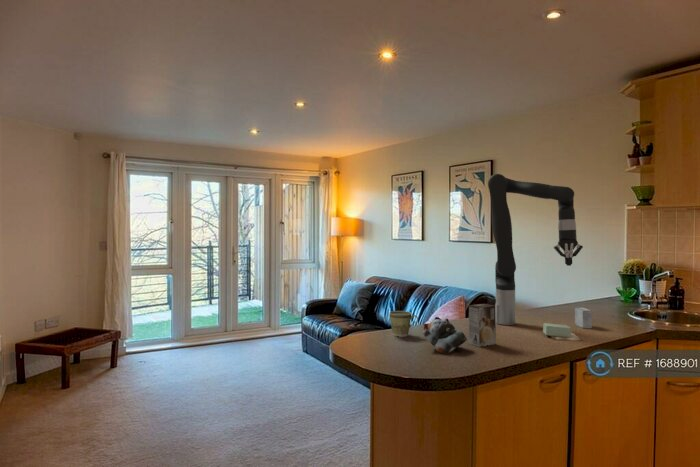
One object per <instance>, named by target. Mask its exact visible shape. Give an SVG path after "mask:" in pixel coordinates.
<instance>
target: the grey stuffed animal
mask: <svg viewBox="0 0 700 467" xmlns="http://www.w3.org/2000/svg"><path fill="white" fill-rule="evenodd" d="M422 336H424V338H425V340H427V341H428V342H429V343H430V344H431V345H432V346H433V347H434V348H435V350H436V352H437V353H439V354H444V353H447V354H446V355H448V354H449V353H451V352H453V351H455V350H456V349H457V348H458V347H460V346H461V345H463V344H464V343H466V341H467V340H468V339H467V336H466V335H465V333H464V332H463V331H461V330H460V329H456V327H455V326H454V325H453V323H452V322H450V320H449V319H448V317H446V318H444V319H441V318H440V317H439V316H435V317H434V319H433V320H432V321H430V322H429V323H424V324H423V331H422Z"/></svg>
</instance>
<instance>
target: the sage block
mask: <svg viewBox="0 0 700 467" xmlns="http://www.w3.org/2000/svg"><path fill="white" fill-rule="evenodd" d="M542 333H543V334H545V335H546V336H549V335H552V336H562V337H571V333H572V327H570V326H569V325H568V324H567V325H566V324H560V323H559V324H558V323H556V324H555V323H549V322H547V323H546V322H543V325H542Z"/></svg>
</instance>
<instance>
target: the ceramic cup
mask: <svg viewBox="0 0 700 467" xmlns="http://www.w3.org/2000/svg"><path fill="white" fill-rule="evenodd" d="M414 317H415V318H416V321H414V322H413V323H411V320H412V319H413V318H414ZM418 320H419V317H418V316H417V315H414V314H412V312H411V311H406V310H393V311H389V321H390V325H391V332H392V335H393V336H394V337H397V336H399V338H404V337H408V336H409V331H410V328H411V327H412V326H413V325H414V324H416V323H417V322H418Z"/></svg>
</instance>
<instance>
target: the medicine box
mask: <svg viewBox="0 0 700 467" xmlns="http://www.w3.org/2000/svg"><path fill="white" fill-rule="evenodd" d="M592 315H593V312H592V310H591V309H589V308H586V307H575V308H574V325H575V326H577V327H579V328H581V329H592V328H593V326H592V325H593V316H592Z"/></svg>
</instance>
